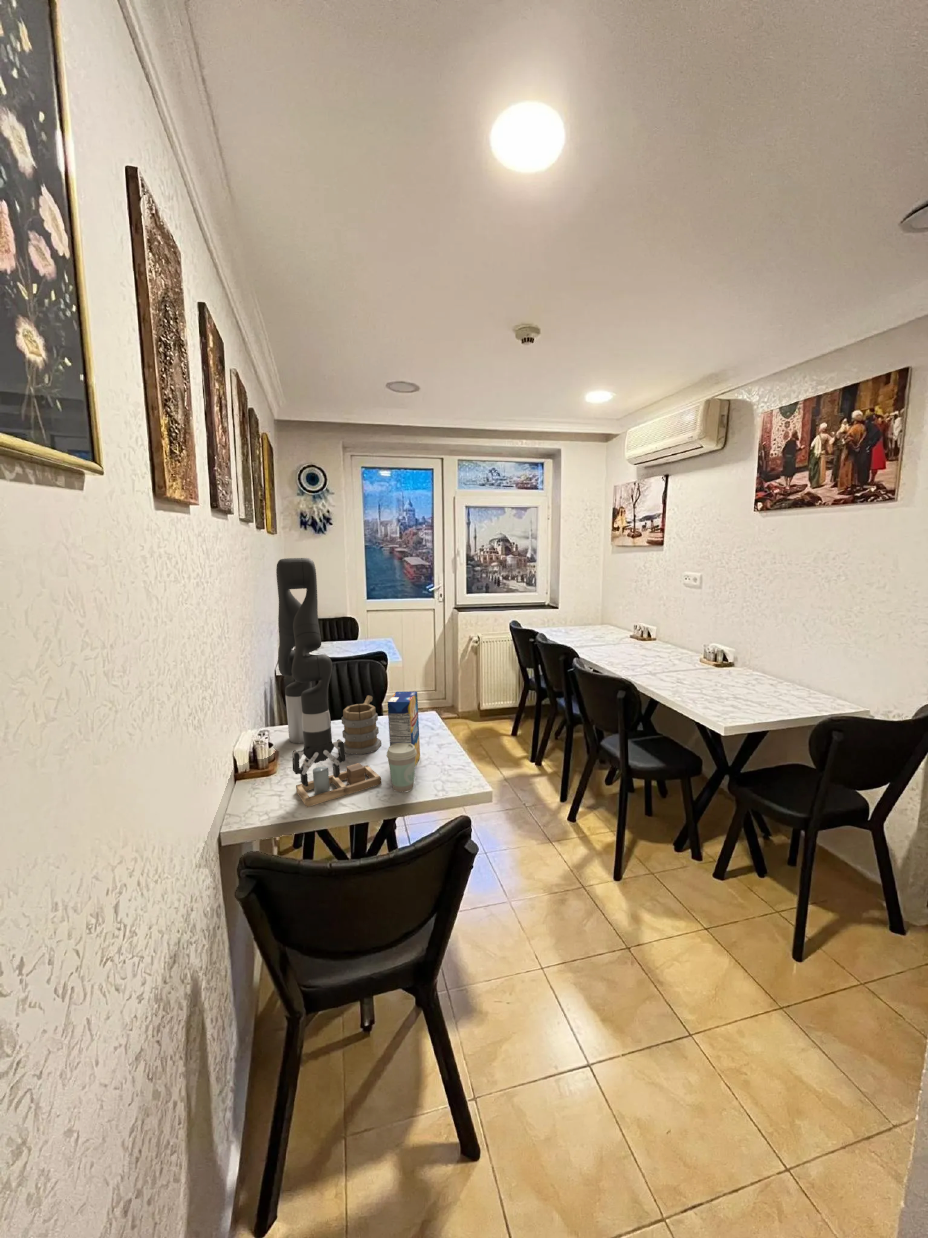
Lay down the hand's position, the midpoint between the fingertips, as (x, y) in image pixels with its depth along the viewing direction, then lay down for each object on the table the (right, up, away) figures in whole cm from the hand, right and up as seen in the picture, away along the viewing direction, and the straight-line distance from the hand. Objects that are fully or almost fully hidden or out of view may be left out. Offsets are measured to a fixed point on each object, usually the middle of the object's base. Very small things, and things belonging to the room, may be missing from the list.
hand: (321, 781), depth 139 cm
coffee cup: (+23, -3, +2) cm, 23 cm away
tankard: (+5, +1, +36) cm, 36 cm away
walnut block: (+9, -3, +6) cm, 11 cm away
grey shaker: (0, -4, +1) cm, 4 cm away
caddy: (+4, -3, +3) cm, 6 cm away
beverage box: (+22, -1, +18) cm, 29 cm away
